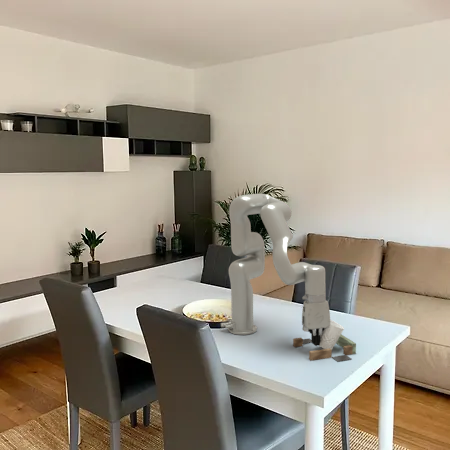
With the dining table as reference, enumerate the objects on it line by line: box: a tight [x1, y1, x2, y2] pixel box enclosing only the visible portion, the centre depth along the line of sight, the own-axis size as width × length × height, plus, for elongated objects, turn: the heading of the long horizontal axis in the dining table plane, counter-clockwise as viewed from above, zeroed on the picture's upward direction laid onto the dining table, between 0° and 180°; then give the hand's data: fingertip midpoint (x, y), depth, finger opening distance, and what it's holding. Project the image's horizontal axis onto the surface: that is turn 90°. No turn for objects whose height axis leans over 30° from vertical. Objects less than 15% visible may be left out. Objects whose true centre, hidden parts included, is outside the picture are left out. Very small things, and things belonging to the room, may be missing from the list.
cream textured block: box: [319, 319, 345, 351], centre depth 179 cm, size 8×8×10 cm
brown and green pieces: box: [292, 333, 357, 363], centre depth 180 cm, size 19×24×4 cm
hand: (315, 344), depth 177 cm, fingers closed
